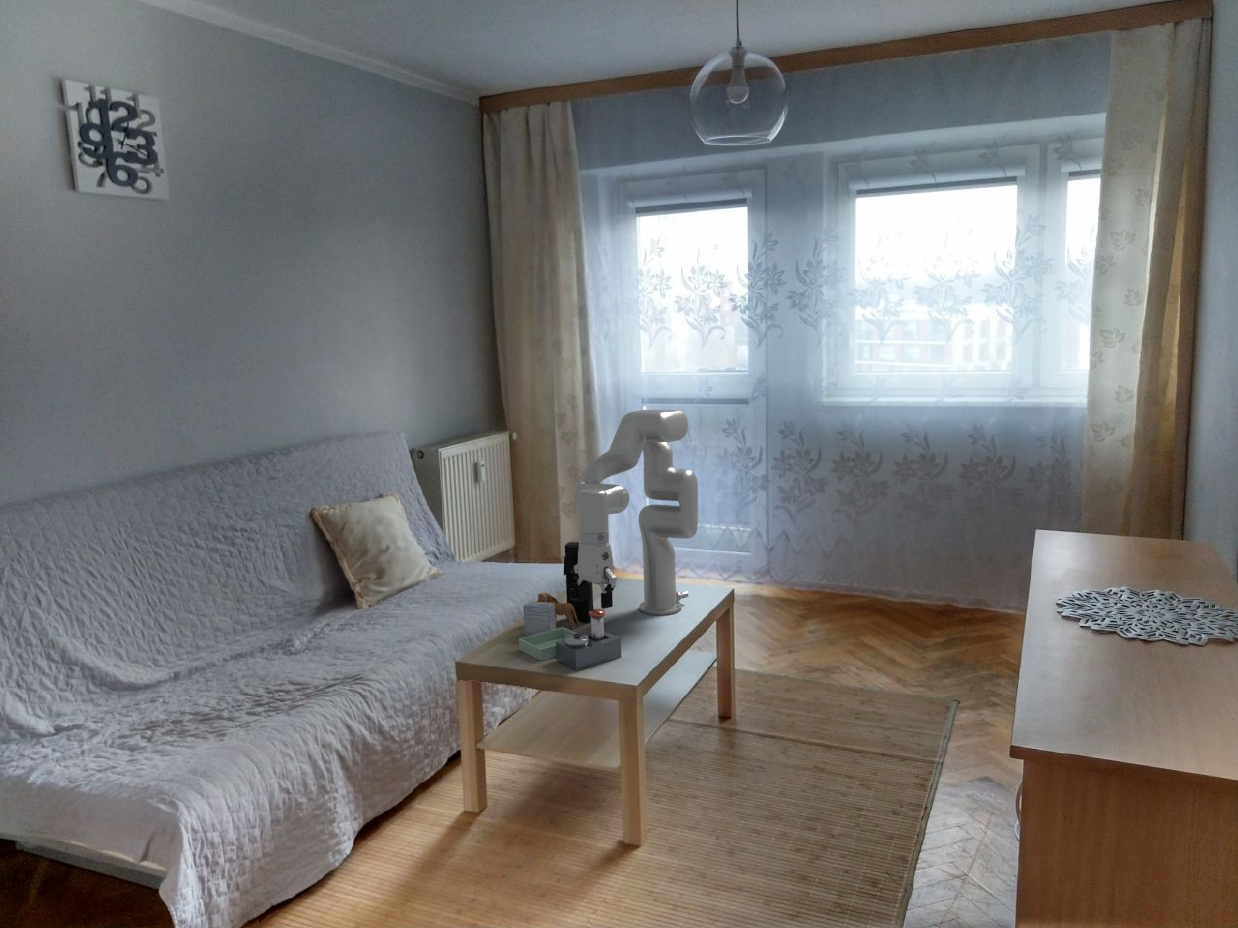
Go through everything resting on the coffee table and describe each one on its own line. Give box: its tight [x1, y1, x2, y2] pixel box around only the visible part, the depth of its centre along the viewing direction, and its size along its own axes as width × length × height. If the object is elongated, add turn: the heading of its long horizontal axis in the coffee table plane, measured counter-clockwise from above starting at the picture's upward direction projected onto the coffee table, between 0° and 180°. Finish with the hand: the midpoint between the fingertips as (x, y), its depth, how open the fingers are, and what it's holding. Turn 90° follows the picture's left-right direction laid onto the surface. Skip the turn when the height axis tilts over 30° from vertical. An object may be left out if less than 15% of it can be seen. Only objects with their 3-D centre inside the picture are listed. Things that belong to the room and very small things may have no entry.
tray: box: [518, 627, 577, 662], centre depth 241 cm, size 14×11×3 cm
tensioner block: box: [555, 630, 622, 671], centre depth 232 cm, size 14×9×7 cm, turn 127°
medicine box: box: [522, 601, 557, 637], centre depth 253 cm, size 8×4×9 cm, turn 74°
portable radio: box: [563, 541, 595, 624], centre depth 263 cm, size 8×6×25 cm
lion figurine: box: [536, 592, 584, 630], centre depth 260 cm, size 15×5×9 cm, turn 65°
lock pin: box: [589, 608, 606, 641], centre depth 234 cm, size 4×4×12 cm
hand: (595, 603), depth 232 cm, fingers open, 9 cm apart
